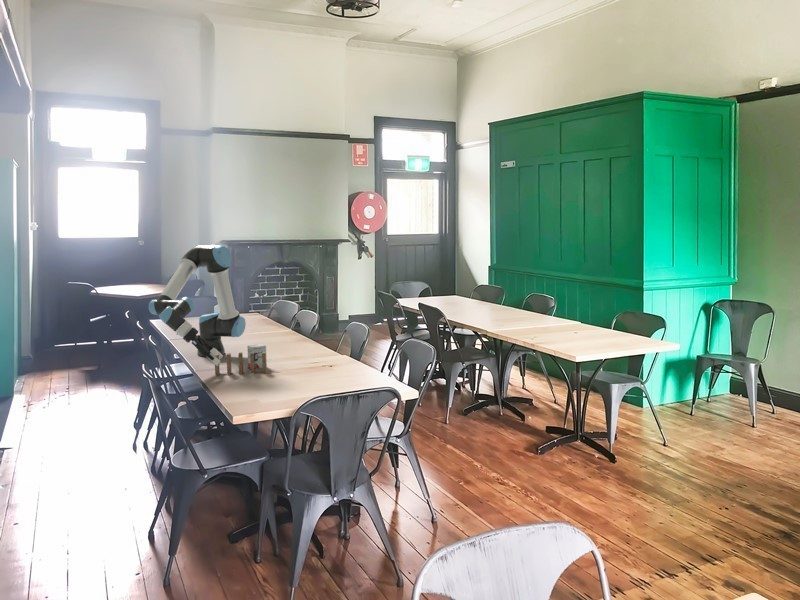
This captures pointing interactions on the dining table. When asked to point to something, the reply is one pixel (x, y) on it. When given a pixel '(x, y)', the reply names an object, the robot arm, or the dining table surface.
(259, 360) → the ink box
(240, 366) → the domino
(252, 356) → the domino
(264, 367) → the domino
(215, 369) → the head domino
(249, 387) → the dining table surface
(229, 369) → the domino
